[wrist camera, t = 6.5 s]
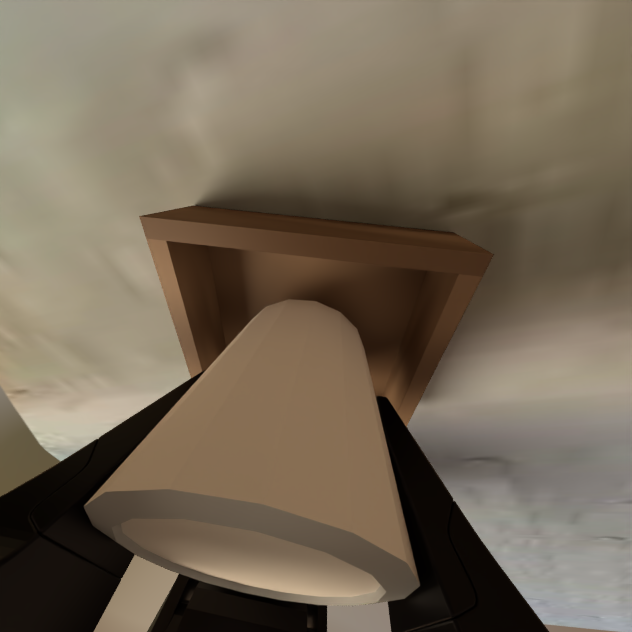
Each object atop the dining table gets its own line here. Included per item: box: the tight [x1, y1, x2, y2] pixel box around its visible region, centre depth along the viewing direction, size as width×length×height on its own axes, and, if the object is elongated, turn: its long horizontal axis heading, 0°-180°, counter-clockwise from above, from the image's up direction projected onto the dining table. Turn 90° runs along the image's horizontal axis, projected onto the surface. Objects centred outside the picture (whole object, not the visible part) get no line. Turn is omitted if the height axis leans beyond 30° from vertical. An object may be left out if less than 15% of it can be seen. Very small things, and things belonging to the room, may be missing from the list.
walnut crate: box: [139, 206, 494, 426], centre depth 11 cm, size 11×11×3 cm
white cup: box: [84, 299, 420, 606], centre depth 8 cm, size 7×7×7 cm
